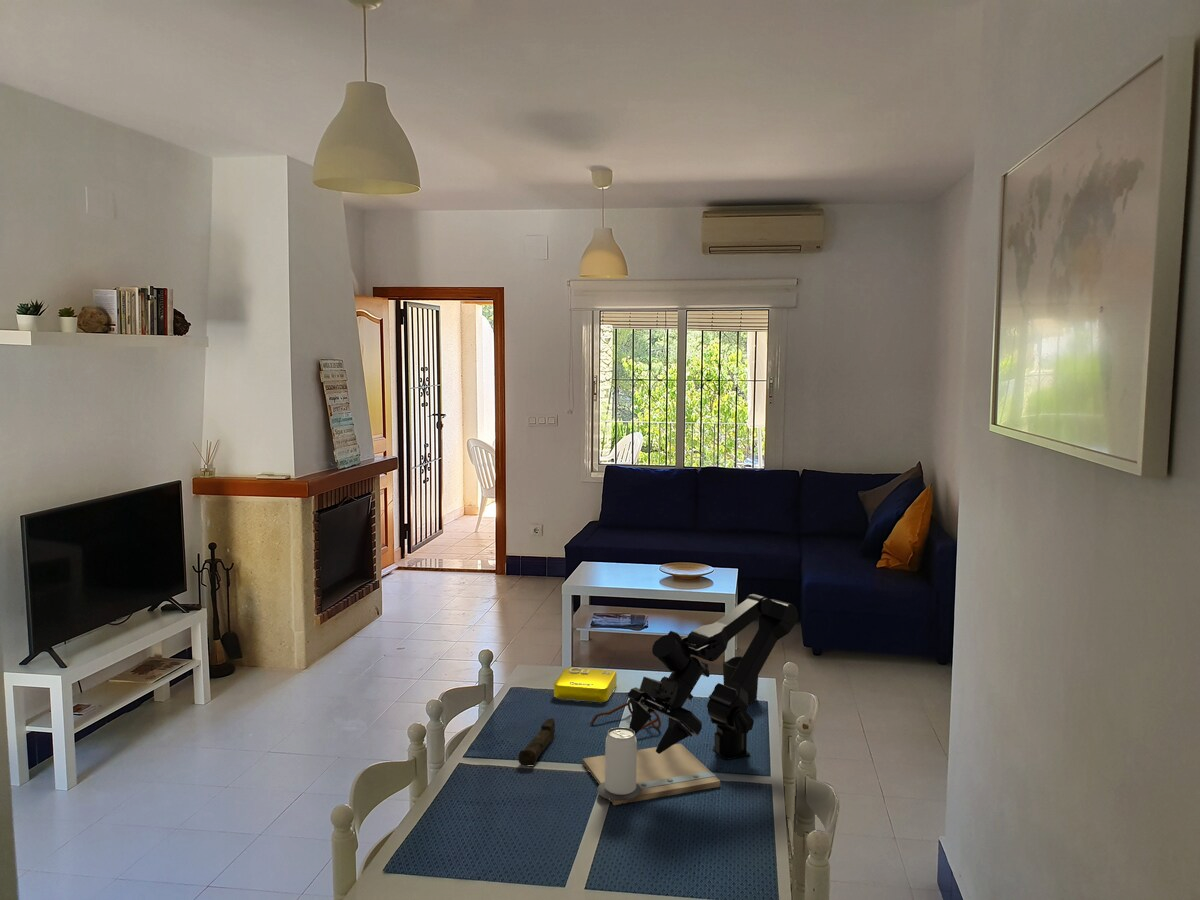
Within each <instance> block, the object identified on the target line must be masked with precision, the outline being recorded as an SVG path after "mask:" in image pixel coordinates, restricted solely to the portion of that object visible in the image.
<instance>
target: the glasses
mask: <svg viewBox="0 0 1200 900" xmlns="http://www.w3.org/2000/svg"><path fill="white" fill-rule="evenodd" d="M625 707H627V708H628V711H629V713H630V714H631V715H632V706H631V703H630V702H629V699H628V700H627V702H625V703H623V704H621V705H619V706H617V707H615V708H613V709H611V710H609V711H605V712H604V711H603V712H600V713H596V714H595V715H594V717H593V719H592V720H591V721H590V722H589V724H590V725H591V724H594V723H595V722H596V720H597V719H598V717H601V716H604V715H605V716H608V715H611V714H613V713H615V712H618V711H619V710H621V709H623V708H625ZM652 713H653V715H654V716H655V717H656V718H655V719H653V720H652V717H651V718H650V719H649V720H648V722H646V724H645V725H644V726H643V727H642V728H641V729H640V730H639V732H640V731H641V730H644V729H645V728H647V727H649V726H652V727H653V728H655V729H660V728H661V726H662V721H661V718H660V716H659V714H658V712H657V711H654V712H652ZM649 714H650V715H651V713H649ZM655 723H658V724H657V725H656V724H655ZM591 726H592V725H591Z"/></svg>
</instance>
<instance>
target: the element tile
mask: <svg viewBox="0 0 1200 900" xmlns="http://www.w3.org/2000/svg"><path fill="white" fill-rule="evenodd" d="M617 674H618V673H617V671H616V670H612V669H597V668H596V669H595V668H584V667H583V668H582V667H566V668H565V669H564V670H562V672H561V674H560V675H559V676H558V677H557V679H556V680H555V681H554V683H553V697H556V698H561V699H575V700H585V701H597V702H604V701H607V700H608V699H609V697H610V696H611V694H612V692H613V690H614V689H615V690H616V688H617V686H616V685H618V684H617V679H618V677H617ZM615 687H616V688H615ZM615 690H614V691H615ZM613 693H614V692H613ZM612 695H613V694H612ZM611 697H612V696H611ZM611 697H610V698H611ZM609 700H610V699H609Z"/></svg>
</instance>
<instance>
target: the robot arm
mask: <svg viewBox="0 0 1200 900" xmlns="http://www.w3.org/2000/svg"><path fill="white" fill-rule="evenodd" d="M756 620H757V621H758V622H757V625H758V626H757V627H758V628H757V631H756V633H755V635H754V637H753V638H752V640H751V641H750V644H749V645H748V647H747V648H746V650H745V652H744V654H743V656H742V657H743V658H742V659H741V661H740V663H739V665H738V666H737V668H736V670H735V672H734V674H733V675H732V677H731V679H730V680H729V682H727V683H726V684H724V683H723V684H722V683H720V682H717V683H716V685H715V686H714V688H713V691H712V693H711V694H709V695H708V701H707V704H706V708H707V713H708V716H709V720H710V722H711V724H714V725H716V726H715V727H716V732H714V745H713V747H712V749H713V751H715V752H716V753H717V754H718V755H719V756H721V757H722V758H723V759H724V760H731V759H736V758H742V757H743V758H744V757H749V756H751V753H750V752H749V751H748V750H747V748H748V747H747V745H748V744H747V742H748V739H747V738H748V734H749V731H752V730H753V726H754V723H755V720H754V719H753V718H752V717H751V716H750V714H748V713H747V711H748V709H749V704H748V693H749V691H750V689H751V687H752V685H753V683H754V681H755V680H756V678H757V676H758V677H759V674H760V672H761V671H762V669H763V667H764V665H765V664H766V662H767V660H768V658H769V656H770V654H771V652H772V651H773V649H774V647H775V645H776V643H777V642H778V640H780V639H782V638H783V637H785V636H787V635H788V634H789V633H790V632H791V631H792V629H793V628H794V627H795V625H796V624H797V621H798V620H799V612H798V608H797V607H796V605H795V604H793V603H790V602H785V601H781V600H778V599H773V598H768V597H767V596H763V595H759V594H756V593H752V594H749V595H747V596H746V598H745V599H744V601H742V602H740V603H739V604H738V605H736V606H735V607H733V609H731V610H730V611H729V612H727V613H726V614H725V615H723V616H722V617H721V618H719V619H717V621H715V622H713V623H710V624H704V625H701V626H699V627H697V628H695V629H693V630H691V631H690V633H688V635H685V636H683V637H681V635H680V634H679V633H678V632H676V631H672V630H670V631H669V632H668V634H664V635H662V636H660V637H659V638H658V639H657V640H655V641H654V642H653V644H652V649H651V652H652V655H653V656H654V657H655V658H656V659H657V660H658V661H659V662H660V663H661V664H662V665H663V667H665V668H666V669H667V670H668V671H669V672H671V673H670V674H669V676H663V677H661V680H657V679H654V678H651V677H647V676H643V677H642V681H641V684H640V687H633V688H631V689H630V690H629V692H628V694H627V695H626V697H627V698H628V700H629V702H630V706H631V710H632V714H631V718H630V723H629V725H628V726H629V727H628V728H629V729H632V730H633V731H634V732H635V736H636V735H637V734H638V733H639V732H640V731H641V730H640V729H641V728H642V727H643V726H644V725H645V724H647V723H648V722H649V719H650V718H651V719H652V715H651V713H652V712H654V711H655V712H656V713H659V714H662V715H664V716H665V717H668V724H667V725H668V727H667V729H666V730H665V732H664V734H663V736H662V737H661V739H660V741H659V743H658V744H657V746H656V747H657V749H656V752H657V753H658V754H660V753H662V752H663V751H665V750H666V749H668V748H669V747H671V746H672V745H674V744H678V743H679V742H681V741H682V740H685V739H686V738H689V737H690V738H692V737H693V735H695V736H698V735H699V734H700V732H701V730H702V729H703V722H702V721H701V720H700V718H698V717H697V716H696V715H695V714H694V713H693V712H692V711H691V710H689V709H686V708H684V707H683V706H684V705H685V703H686V701H687V700H690V701H691V700H692V699H693V698H694V695H693V694H692V692H693V690H694V688H695V686H696V685H697V683H698V682H699V680H700V678H701V677H702V676H703V677H706V678H709V677H710V670H709V664H708V663H705V662H703V661H700V660H699V659H698V658H700V659H702V660H705V661H709V662H715V661H716V660H717V659H719V657H721V655H723V653H724V652H725V651H726V650H727V647H728V644H729V642H730V640H731V639H733V638H734V637H735V636H736V635H738V634H739V633H740V632H742V631H743V630H745V628H747V627H748V626H749V625H751V624H752V623H754V622H755V621H756ZM697 657H698V658H697ZM649 713H650V714H649ZM639 730H640V731H639Z"/></svg>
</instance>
